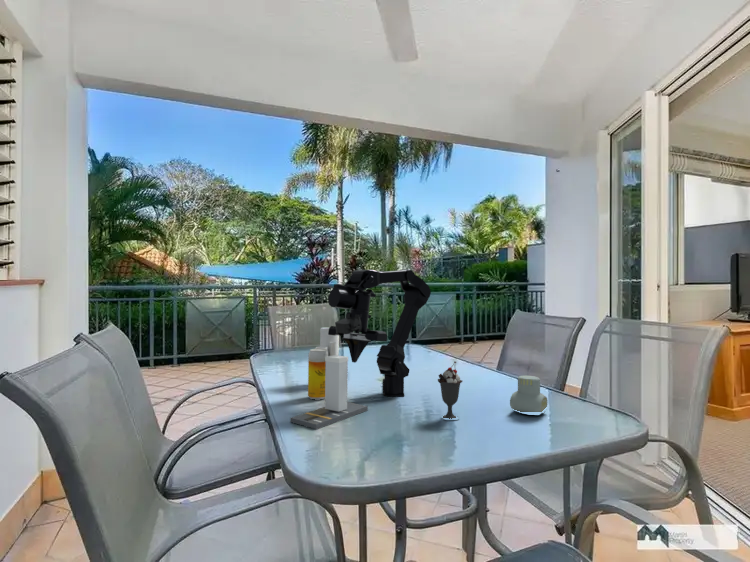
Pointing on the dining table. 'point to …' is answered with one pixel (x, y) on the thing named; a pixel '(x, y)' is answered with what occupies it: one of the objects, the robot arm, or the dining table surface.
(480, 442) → the dining table surface
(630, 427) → the dining table surface
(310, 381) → the beer can
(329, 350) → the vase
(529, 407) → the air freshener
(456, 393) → the sundae
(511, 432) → the dining table surface
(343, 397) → the fader tab
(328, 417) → the console
